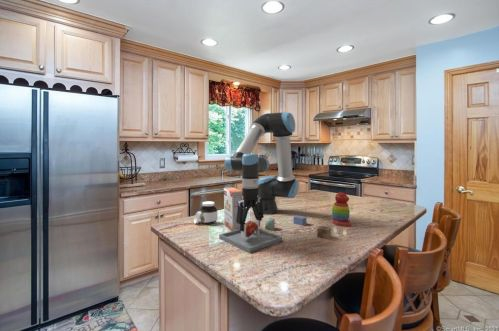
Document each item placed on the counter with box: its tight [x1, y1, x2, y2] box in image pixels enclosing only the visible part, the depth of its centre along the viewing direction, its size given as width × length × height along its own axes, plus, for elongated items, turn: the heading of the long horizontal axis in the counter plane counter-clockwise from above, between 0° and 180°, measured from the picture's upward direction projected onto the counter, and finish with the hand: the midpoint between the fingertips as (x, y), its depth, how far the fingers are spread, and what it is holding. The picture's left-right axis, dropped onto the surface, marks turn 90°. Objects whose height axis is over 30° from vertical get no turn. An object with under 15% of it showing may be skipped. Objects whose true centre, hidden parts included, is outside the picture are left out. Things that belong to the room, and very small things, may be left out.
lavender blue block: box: [293, 215, 307, 226], centre depth 148 cm, size 6×4×4 cm, turn 48°
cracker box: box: [223, 186, 243, 231], centre depth 140 cm, size 14×6×21 cm, turn 23°
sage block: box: [264, 217, 276, 231], centre depth 140 cm, size 5×5×5 cm
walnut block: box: [316, 225, 332, 240], centre depth 127 cm, size 5×5×4 cm
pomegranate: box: [245, 220, 258, 237], centre depth 123 cm, size 7×7×10 cm
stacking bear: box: [331, 191, 353, 228], centre depth 148 cm, size 11×10×18 cm
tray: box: [218, 228, 283, 254], centre depth 123 cm, size 22×20×2 cm
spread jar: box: [193, 200, 218, 225], centre depth 149 cm, size 12×11×12 cm
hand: (250, 235), depth 123 cm, fingers closed on pomegranate, 7 cm apart
